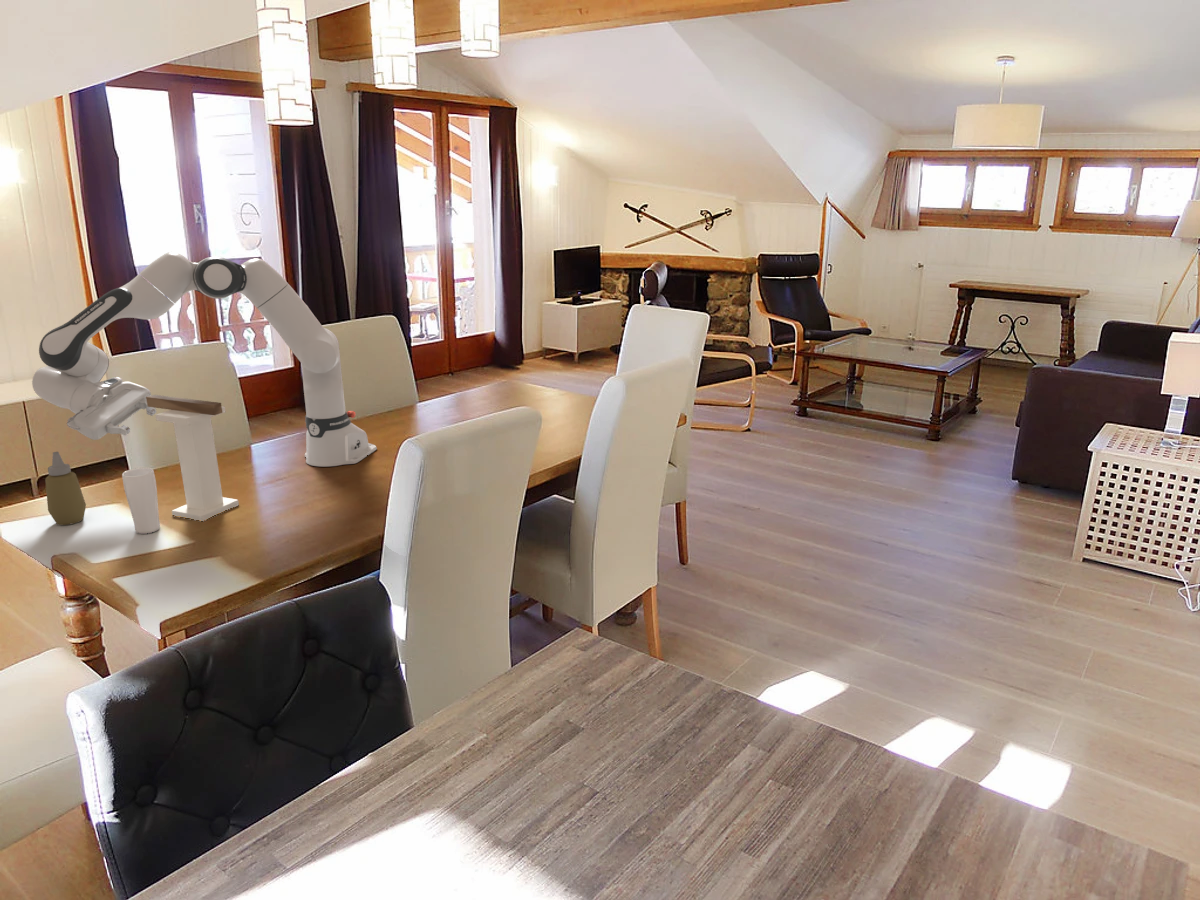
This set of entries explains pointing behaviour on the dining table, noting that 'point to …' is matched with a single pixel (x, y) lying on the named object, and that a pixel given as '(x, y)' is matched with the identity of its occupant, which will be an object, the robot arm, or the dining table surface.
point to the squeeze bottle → (64, 493)
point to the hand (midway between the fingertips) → (141, 421)
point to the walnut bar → (184, 404)
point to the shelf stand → (197, 465)
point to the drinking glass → (142, 499)
